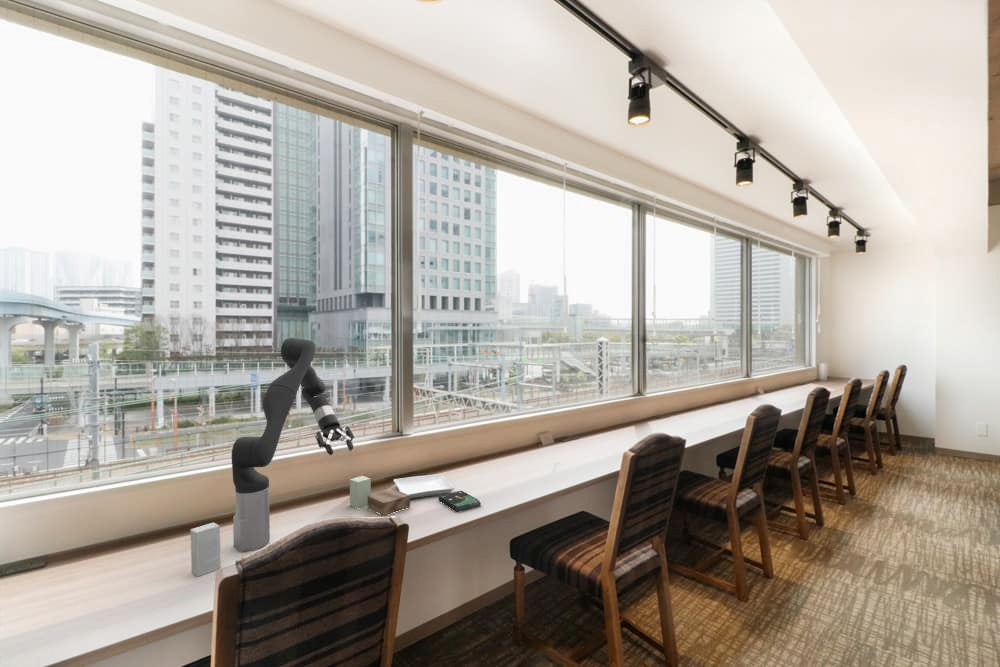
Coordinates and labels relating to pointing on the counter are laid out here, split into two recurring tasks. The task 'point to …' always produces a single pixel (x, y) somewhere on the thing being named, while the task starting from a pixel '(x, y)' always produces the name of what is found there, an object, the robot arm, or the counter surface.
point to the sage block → (360, 491)
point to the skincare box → (205, 549)
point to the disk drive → (459, 501)
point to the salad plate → (424, 485)
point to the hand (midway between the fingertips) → (341, 451)
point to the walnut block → (388, 502)
